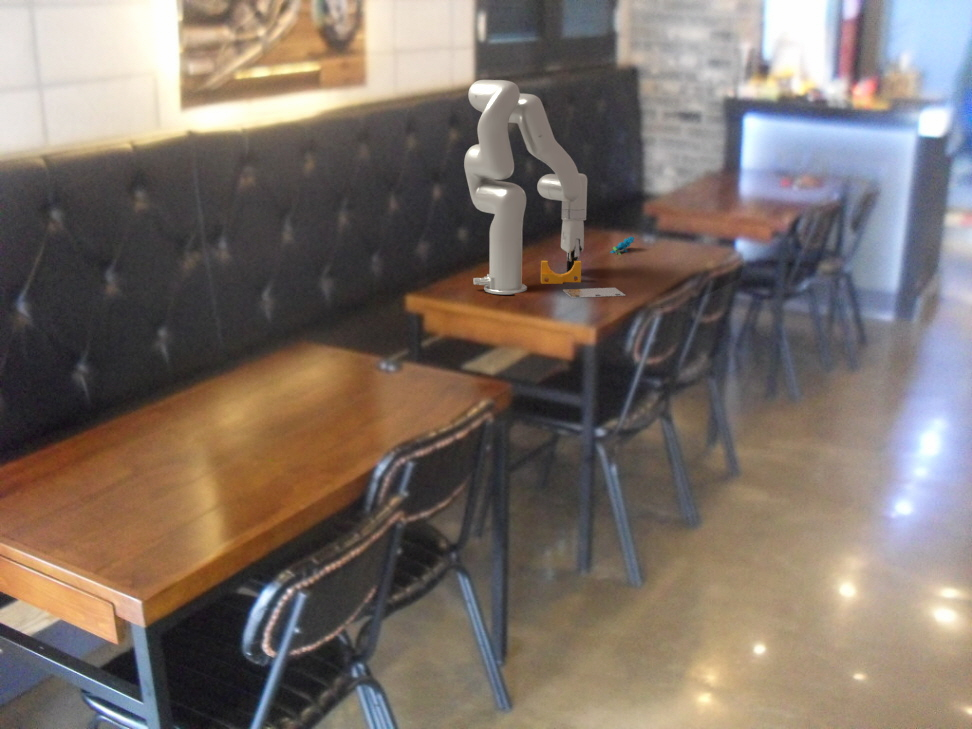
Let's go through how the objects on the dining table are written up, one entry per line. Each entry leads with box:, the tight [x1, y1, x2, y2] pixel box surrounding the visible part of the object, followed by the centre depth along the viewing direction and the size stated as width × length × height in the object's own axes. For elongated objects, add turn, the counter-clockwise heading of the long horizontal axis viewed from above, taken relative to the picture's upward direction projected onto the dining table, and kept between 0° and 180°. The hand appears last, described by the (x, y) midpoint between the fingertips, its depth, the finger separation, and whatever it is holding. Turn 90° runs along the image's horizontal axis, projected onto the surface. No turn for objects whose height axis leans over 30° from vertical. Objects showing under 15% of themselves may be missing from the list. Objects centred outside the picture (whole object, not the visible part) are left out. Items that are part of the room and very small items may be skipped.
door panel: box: [562, 287, 626, 299], centre depth 304 cm, size 16×10×1 cm, turn 101°
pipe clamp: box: [540, 260, 582, 285], centre depth 317 cm, size 12×4×6 cm, turn 89°
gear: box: [609, 235, 635, 256], centre depth 354 cm, size 11×6×10 cm
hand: (572, 273), depth 326 cm, fingers closed
